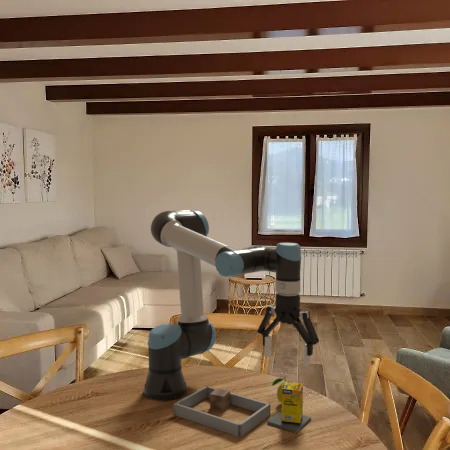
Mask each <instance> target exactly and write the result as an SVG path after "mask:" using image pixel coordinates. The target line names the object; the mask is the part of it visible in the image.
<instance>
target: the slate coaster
mask: <svg viewBox="0 0 450 450" xmlns="http://www.w3.org/2000/svg"><path fill="white" fill-rule="evenodd" d="M281 415H282V409H281V410H279V412H277V413H276V414H274V415H273V416H272V417H271V418H270V419H268V420H266V421H267V422H266V423H267V425H271V426H273V427H277V428H279V429H284V430H286V431H289V432H294V433H298V432H299V431H300V430H301V429H303V427H305V426H306V425H307V424H308V423H309V422H310V421H311V420H312V417H311V416H308V415H304V414H303V417H302V420H301V424H300V425H294V424H286V423H281Z"/></svg>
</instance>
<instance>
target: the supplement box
mask: <svg viewBox="0 0 450 450" xmlns="http://www.w3.org/2000/svg"><path fill="white" fill-rule="evenodd" d="M292 382H293V381H290V382H287V381H286V382H285V381H284V382H283V383H284V385H283V387H282V403H281V410H282V415H281V423H286V424H294V425H300V424H301V420H302V417H303V415H304V414H303V413H304V412H303V409H304V408H303V407H304V404H303V402H304V399H303V396H304V394H303V393H304V384H303V383H302V382H301V383H300V382H293V383H292Z"/></svg>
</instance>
